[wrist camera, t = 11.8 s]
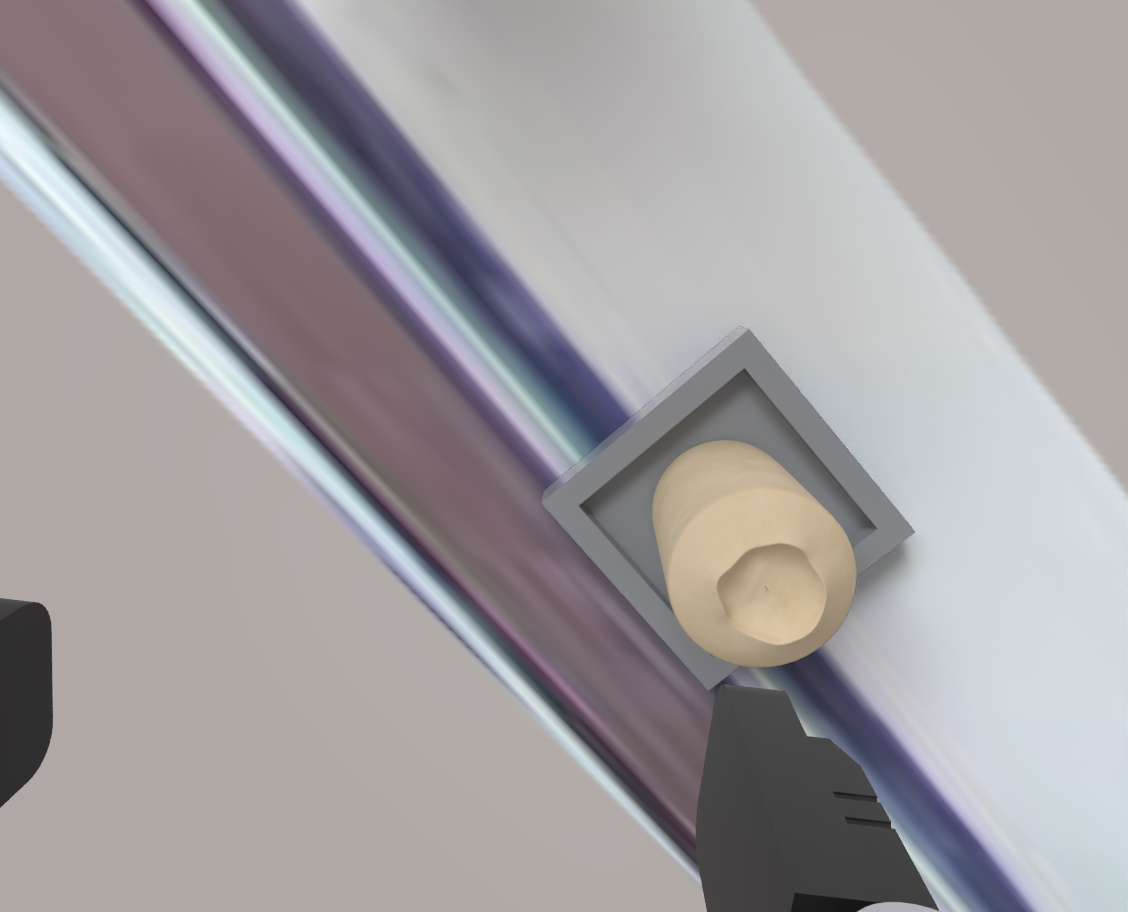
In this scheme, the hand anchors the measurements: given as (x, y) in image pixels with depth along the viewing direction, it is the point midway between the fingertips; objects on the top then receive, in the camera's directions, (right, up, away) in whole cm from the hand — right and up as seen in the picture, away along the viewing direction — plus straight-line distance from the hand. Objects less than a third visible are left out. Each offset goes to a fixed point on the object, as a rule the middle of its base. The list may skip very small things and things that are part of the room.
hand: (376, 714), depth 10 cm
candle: (+8, +1, +24) cm, 25 cm away
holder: (+8, +1, +25) cm, 26 cm away
